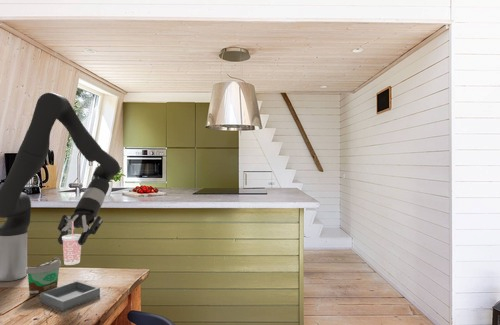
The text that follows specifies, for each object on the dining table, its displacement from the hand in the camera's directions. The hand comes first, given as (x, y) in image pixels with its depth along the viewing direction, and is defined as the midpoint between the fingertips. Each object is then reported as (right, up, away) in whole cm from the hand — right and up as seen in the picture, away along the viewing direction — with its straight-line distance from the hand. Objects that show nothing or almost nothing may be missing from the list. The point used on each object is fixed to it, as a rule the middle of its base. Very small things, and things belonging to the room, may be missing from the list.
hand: (70, 243), depth 104 cm
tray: (0, -19, +1) cm, 19 cm away
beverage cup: (0, -7, +1) cm, 7 cm away
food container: (-12, -19, +8) cm, 24 cm away
